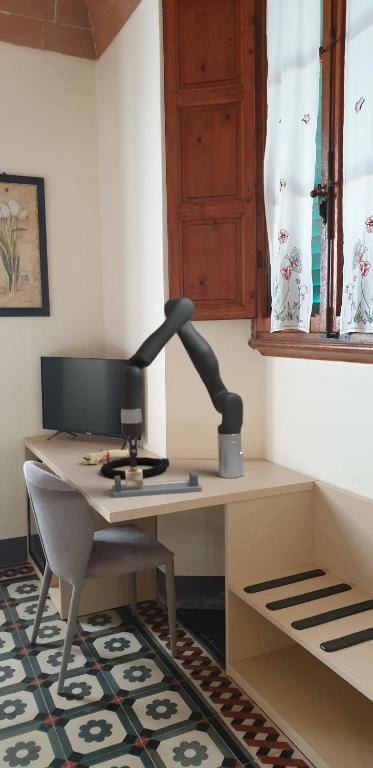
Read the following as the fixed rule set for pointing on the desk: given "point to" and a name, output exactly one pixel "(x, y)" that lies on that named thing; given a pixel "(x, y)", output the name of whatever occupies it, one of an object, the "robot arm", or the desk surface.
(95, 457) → the cat figure
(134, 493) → the rail board
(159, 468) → the cable lock
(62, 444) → the desk surface
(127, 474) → the keeper
